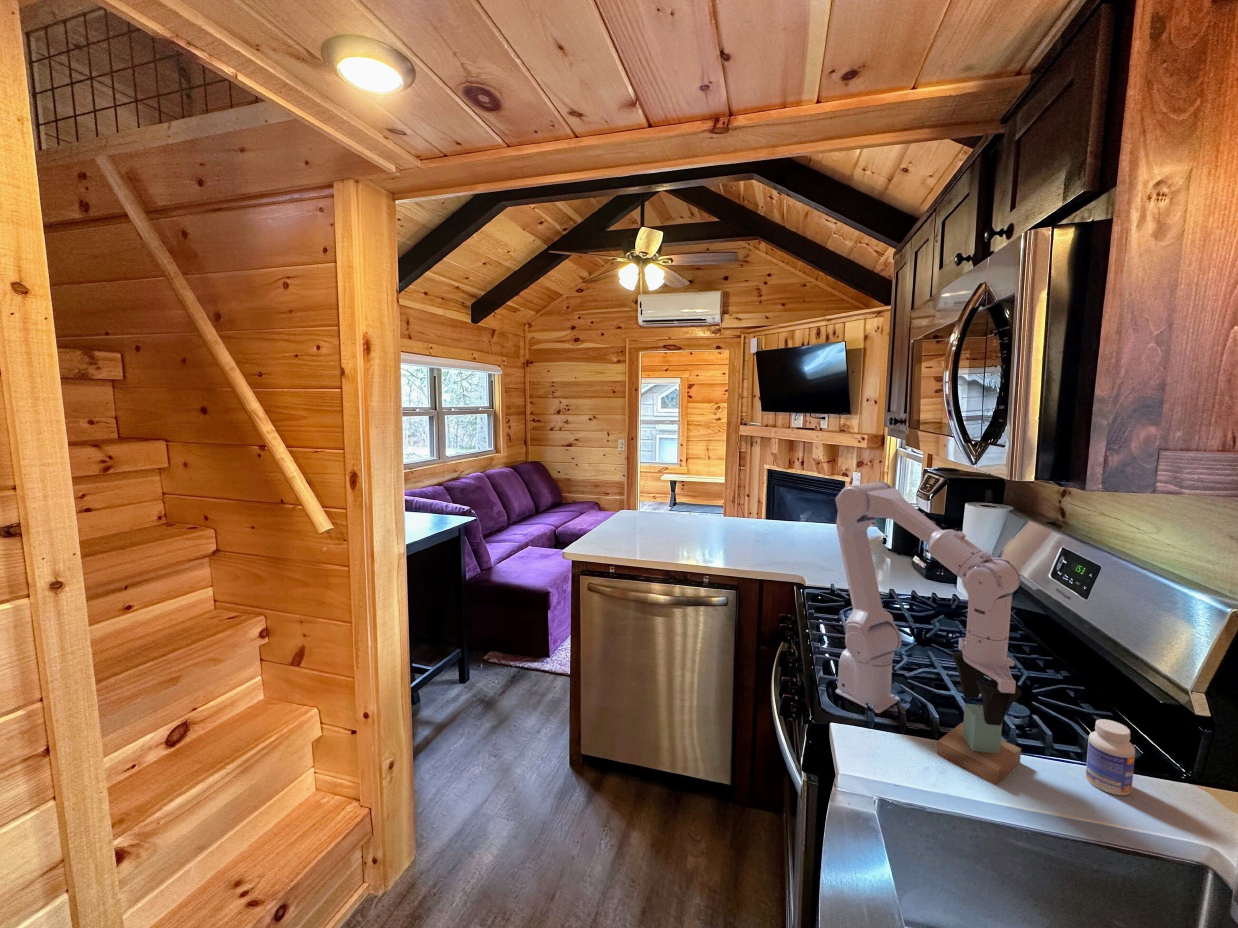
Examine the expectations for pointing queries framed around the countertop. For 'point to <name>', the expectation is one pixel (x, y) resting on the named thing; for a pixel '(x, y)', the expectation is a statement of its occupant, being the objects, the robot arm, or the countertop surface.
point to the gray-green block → (980, 731)
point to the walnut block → (979, 756)
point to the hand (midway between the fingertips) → (981, 709)
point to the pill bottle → (1110, 758)
